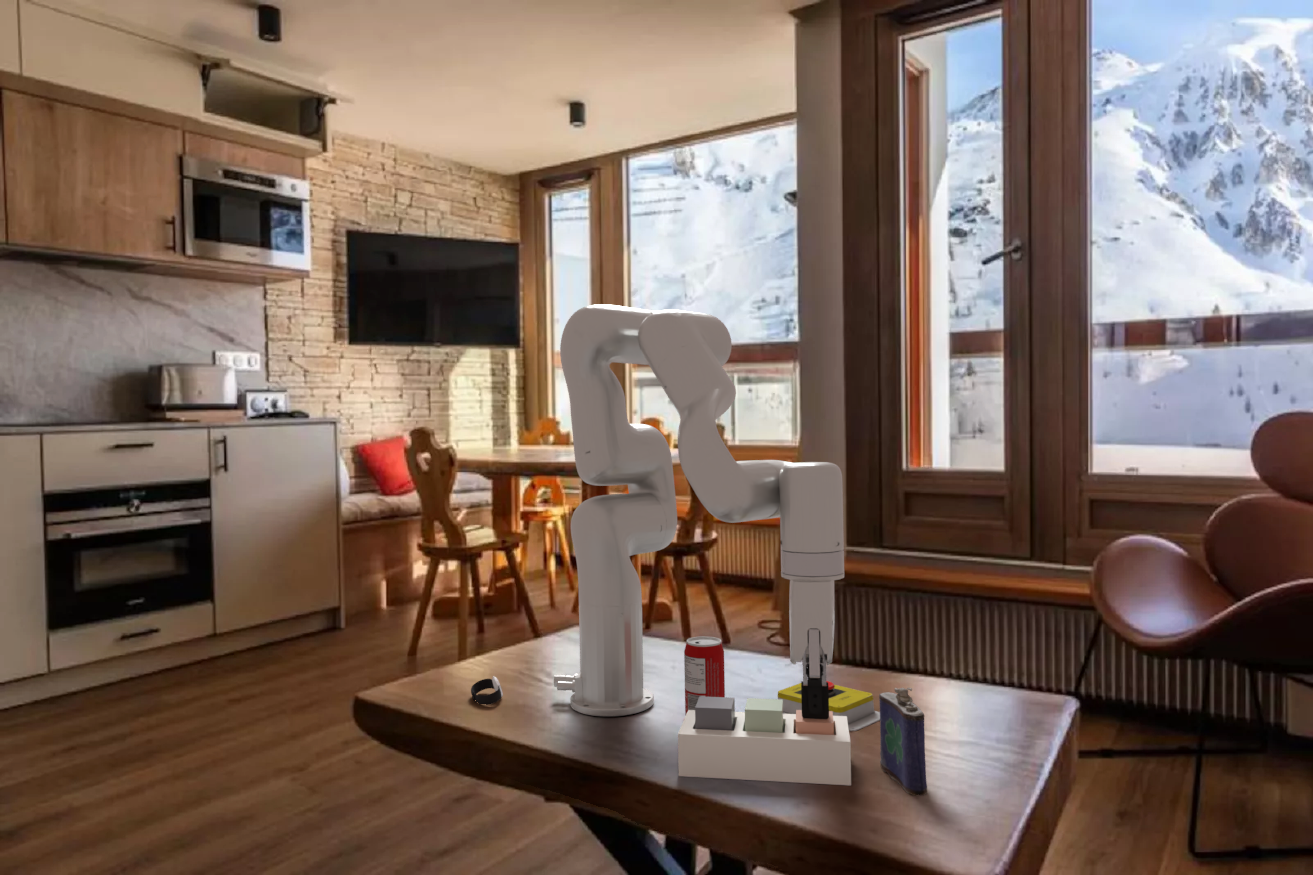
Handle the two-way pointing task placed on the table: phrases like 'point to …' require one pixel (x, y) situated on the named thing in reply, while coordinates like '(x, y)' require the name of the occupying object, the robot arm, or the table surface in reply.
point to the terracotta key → (814, 725)
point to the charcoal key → (715, 713)
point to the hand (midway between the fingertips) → (815, 716)
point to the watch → (487, 684)
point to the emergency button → (837, 704)
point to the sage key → (764, 715)
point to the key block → (765, 753)
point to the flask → (903, 741)
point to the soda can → (703, 670)
